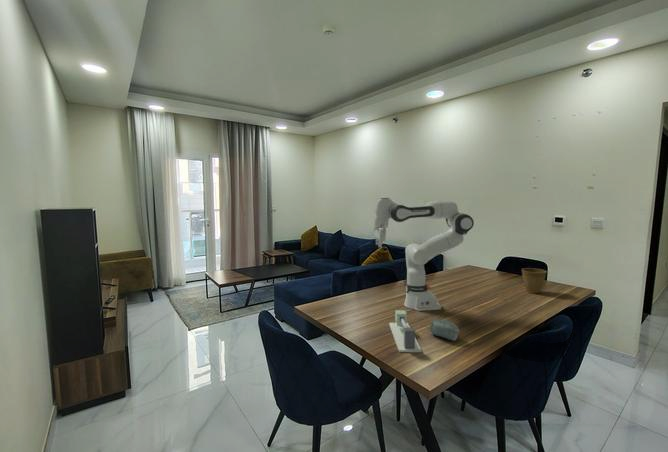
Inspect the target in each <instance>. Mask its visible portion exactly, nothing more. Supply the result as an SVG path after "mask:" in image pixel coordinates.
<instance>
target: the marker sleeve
mask: <svg viewBox="0 0 668 452" xmlns="http://www.w3.org/2000/svg"><path fill="white" fill-rule="evenodd" d="M394 315H395V316H394V318H395V320H394V321H395V323H397V324H402V322H401V320H400V317H403V319H404V321H405V323H406V324H407V323H408V320H407V319H408V316H407V315H408V313H407V311H406V310H401V309H400V310H399V309H398V310H395V314H394Z"/></svg>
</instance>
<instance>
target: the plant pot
mask: <svg viewBox="0 0 668 452" xmlns="http://www.w3.org/2000/svg"><path fill="white" fill-rule="evenodd" d="M521 275H522V279H523V284H524V287H525V289H526V292H527V293H529V294H534V293H538V294H540V292H541V290H542V288H543V287H544V283H545V279H546V276H547V270H545V269H541V268H534V267H533V268H532V267H526V268H525V267H524V268H521Z"/></svg>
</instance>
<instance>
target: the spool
mask: <svg viewBox="0 0 668 452" xmlns="http://www.w3.org/2000/svg"><path fill="white" fill-rule="evenodd" d="M459 332H460V330H459V327H458V325H456V324H455V323H452V322H450V321H446V320H443V319H433V321H432V322H431V324H430V333H431V334H432V335H434V336H437V337H439V338H444V339H446V340H448V341H452V342H453V341H456V340H457V338H458V336H459Z"/></svg>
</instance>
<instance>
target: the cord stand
mask: <svg viewBox="0 0 668 452" xmlns="http://www.w3.org/2000/svg"><path fill="white" fill-rule="evenodd" d="M400 320H401V322H402V324H397V323H396V322H389V323H388V325H389V328H390V330H391V332H392V333H391V334H392V336H393V338H394V342H395V344H396V347H397V349H398V352H399V353H422V348H421V347H420V344H419V343H418V340H417V339H416V330H415V328H414V327H411V326H410V325H409V323H408V322H407V324H406V323H405V321H404V319H403V317H400Z"/></svg>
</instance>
